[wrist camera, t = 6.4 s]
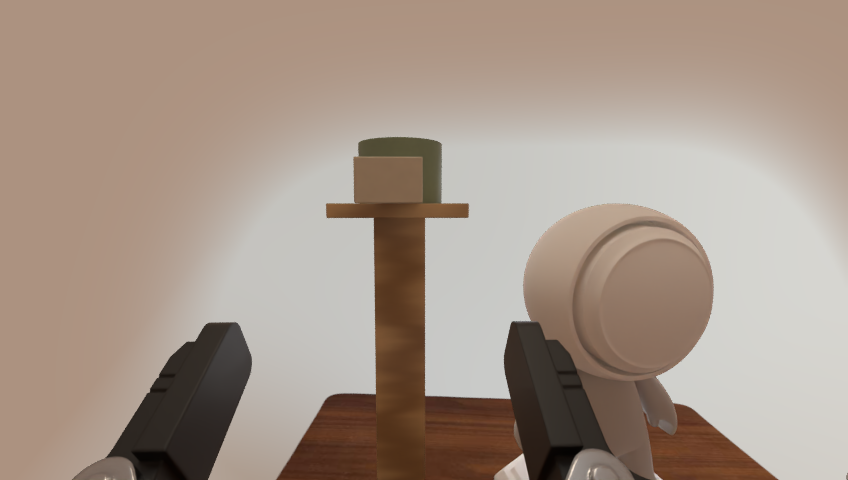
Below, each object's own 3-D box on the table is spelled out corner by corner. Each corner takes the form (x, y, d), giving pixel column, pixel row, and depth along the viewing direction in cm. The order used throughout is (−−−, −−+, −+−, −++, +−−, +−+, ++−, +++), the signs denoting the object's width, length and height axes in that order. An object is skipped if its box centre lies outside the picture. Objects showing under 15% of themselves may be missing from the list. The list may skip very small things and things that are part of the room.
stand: (324, 652, 30) (311, 203, 26) (346, 539, 40) (339, 203, 36) (476, 647, 30) (482, 203, 27) (460, 537, 40) (464, 203, 37)
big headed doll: (573, 630, 31) (591, 203, 28) (478, 452, 54) (482, 203, 50) (767, 582, 35) (802, 203, 32) (603, 435, 58) (614, 203, 54)
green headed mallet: (308, 202, 17) (304, 84, 16) (365, 203, 36) (364, 150, 36) (467, 202, 17) (469, 85, 16) (438, 203, 37) (438, 151, 36)
